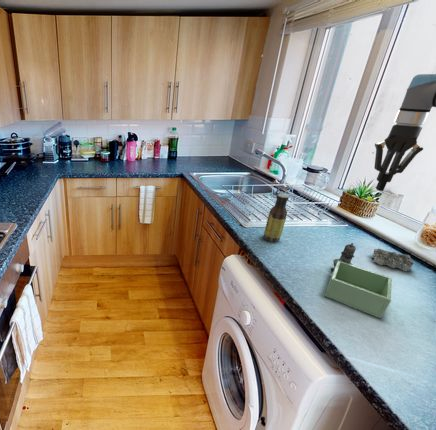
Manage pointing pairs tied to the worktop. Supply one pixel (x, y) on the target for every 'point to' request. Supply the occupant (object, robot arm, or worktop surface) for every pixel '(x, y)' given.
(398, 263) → the egg carton
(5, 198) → the worktop surface
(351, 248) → the dark stone statuette
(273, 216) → the sauce bottle
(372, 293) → the box
